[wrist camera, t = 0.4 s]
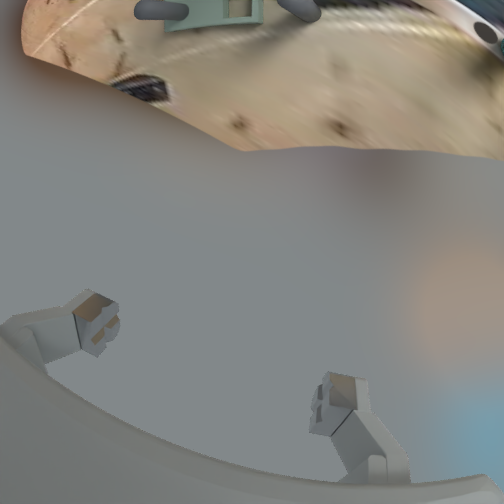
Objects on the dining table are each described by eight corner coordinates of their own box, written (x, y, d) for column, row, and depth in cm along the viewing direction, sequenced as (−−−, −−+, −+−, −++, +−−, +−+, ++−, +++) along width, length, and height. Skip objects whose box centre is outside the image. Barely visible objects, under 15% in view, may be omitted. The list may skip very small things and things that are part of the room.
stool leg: (296, 5, 35) (273, -11, 25) (318, 1, 33) (302, -17, 23) (301, 24, 37) (280, 12, 27) (323, 20, 36) (309, 7, 26)
